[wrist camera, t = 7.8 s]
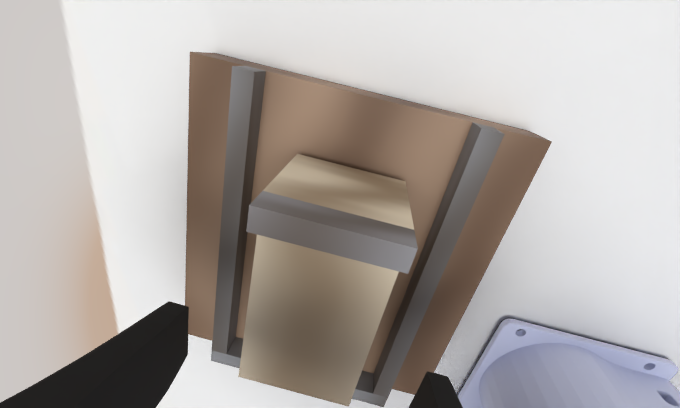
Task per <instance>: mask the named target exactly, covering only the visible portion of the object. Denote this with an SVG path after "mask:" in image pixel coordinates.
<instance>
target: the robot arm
mask: <svg viewBox="0 0 680 408" xmlns="http://www.w3.org/2000/svg"><path fill="white" fill-rule="evenodd" d="M188 319H189V307H188V306H184V305H180V304H177V303H173V302H167V303H166V304H164V305H162V306H161V307H159V308H158V309H156V310H155V311H153V312H152V313H150V314H149V315H147V316H146V317H144V318H143V319H141V320H139V321H138V322H136V323H135V324H133V325H132V326H130V327H129V328H127V329H126V330H124V331H122V332H121V333H119V334H118V335H116V336H115V337H113V338H111V339H110V340H108V341H107V342H105V343H103V344H102V345H100V346H99V347H97V348H95V349H94V350H92V351H91V352H89V353H87V354H86V355H84V356H83V357H81V358H79V359H78V360H76V361H74V362H72V363H71V364H69V365H67V366H65V367H64V368H62V369H60V370H58V371H57V372H55V373H54V374H52V375H50V376H48V377H47V378H45V379H43V380H41V381H39V382H38V383H36V384H34V385H32V386H31V387H29V388H27V389H25V390H23V391H21V392H20V393H18V394H16V395H14V396H12V397H10V398H8V399H6V400H4V401H3V402H1V403H0V408H156V407H157V405H158V404H159V402H160V401H161V399H162V398H163V396H164V395H165V394H166V392H167V391H168V389H169V387H170V385H171V384H172V382H173V380H174V378H175V377H176V375H177V373H178V371H179V369H180V368H181V366H182V364H183V362H184V360H185V358H186V357H187V355H188ZM519 329H522V330H520V331H517V330H519ZM677 372H678V367H677V366H676V365H675V364H674V363H673V362H672V361H671V360H669V359H665V358H661V357H657V356H653V355H650V354H646V353H642V352H638V351H634V350H630V349H627V348H623V347H619V346H615V345H611V344H607V343H604V342H600V341H596V340H592V339H588V338H584V337H581V336H577V335H573V334H569V333H565V332H561V331H558V330H554V329H550V328H546V327H542V326H538V325H535V324H531V323H527V322H523V321H519V320H515V319H505V320H504V321H502V322H501V323H500V325H499V327H498V328H497V330H496V332H495V334H494V335H493V337H492V339H491V340H490V342H489V344H488V345H487V347H486V349H485V351H484V352H483V354H482V356H481V357H480V359H479V361H478V362H477V364H476V366H475V368H474V369H473V371H472V373H471V374H470V376H469V378H468V379H467V381H466V383H465V385H464V386H463V388H462V390H461V391H460V393H459V395H458V396H457V394H456V392H455V390H454V388H453V386H452V384H451V382H450V380H449V378H448V377H447V376H443V375H439V374H436V373H432V372H428V371H427V372H426V374H425V376H424V378H423V380H422V382H421V384H420V386H419V388H418V390H417V392H416V394H415V396H414V398H413V400H412V402H411V404H410V406H409V408H680V392H679V391H678V390H677V389H676V388H675V386H674V385H673V384H672V383H671V382H670V381H669V380H670V379H671V378H672V377H673V376H674V375H675V374H676V373H677Z"/></svg>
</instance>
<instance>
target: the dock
mask: <svg viewBox="0 0 680 408" xmlns="http://www.w3.org/2000/svg"><path fill="white" fill-rule="evenodd" d="M550 144H551V141H549V140H547V139H545V138H543V137H541V136H539V135H536V134H534V133H532V132H530V131H527V130H523V129H519V128H515V127H511V126H506V125H502V124H498V123H494V122H490V121H486V120H482V119H478V118H474V117H470V116H466V115H462V114H458V113H454V112H450V111H446V110H442V109H438V108H434V107H430V106H426V105H422V104H418V103H414V102H410V101H406V100H402V99H398V98H394V97H390V96H386V95H382V94H377V93H373V92H369V91H365V90H361V89H357V88H353V87H349V86H345V85H341V84H337V83H333V82H329V81H325V80H321V79H317V78H313V77H309V76H305V75H301V74H297V73H293V72H289V71H285V70H281V69H277V68H273V67H269V66H265V65H261V64H257V63H252V62H248V61H244V60H240V59H236V58H232V57H228V56H224V55H220V54H216V53H201V52H190V76H189V129H188V181H187V233H186V286H185V306H188V307H189V319H188V334H190V335H193V336H197V337H201V338H205V339H208V340H212V355H211V361H215V362H218V363H222V364H226V365H229V366H233V367H237V368H240V361H241V353H242V346H243V338H244V330H245V323H246V315H247V307H248V300H249V292H250V284H251V277H252V269H253V261H254V254H255V246H256V238H257V234H253V233H249V232H246V229H247V221H248V212H249V205H250V204H251V203H252V202H253V201H254V199H255V198H256V197H257V196H258V195H259V194H260V193H261V192H262V191H263V190H264V189H265V188H266V187H267V186H268V185H269V183H270V182H271V181H272V180H273V179H274V178H275V177H276V176H277V175H278V174H279V173H280V172H281V171H282V170H283V168H284V167H285V166H286V165H287V164H288V163H289V162H290V161H291V160H292V159H293V158H294V157H295V156H296V155H297V154H300V155H304V156H308V157H312V158H316V159H320V160H324V161H327V162H331V163H335V164H339V165H343V166H347V167H351V168H355V169H359V170H363V171H367V172H371V173H375V174H378V175H382V176H386V177H390V178H394V179H398V180H402V181H406V187H407V192H408V198H409V203H410V209H411V214H412V219H413V225H414V230H415V236H416V241H417V247H418V250H417V252H416V255H415V257H414V260H413V263H412V265H411V268H410V270H409V273H408V274H406V273H403V272H399V273H398V275H397V278H396V281H395V283H394V286H393V289H392V291H391V294H390V297H389V299H388V302H387V305H386V308H385V310H384V313H383V316H382V318H381V321H380V324H379V326H378V329H377V332H376V334H375V337H374V340H373V343H372V345H371V348H370V351H369V353H368V356H367V359H366V361H365V364H364V367H363V369H362V372H361V375H360V377H359V380H358V383H357V386H356V388H355V391H354V394H353V396H352V399H356V400H359V401H363V402H367V403H370V404H374V405H378V406H382V407H384V405H385V403H386V400H387V398H388V396H389V394H390V391H391V389H395V390H399V391H402V392H406V393H410V394H414V395H415V394H416V392H417V390H418V388H419V386H420V384H421V382H422V380H423V378H424V376H425V374H426V372H427V371H428V372H432V373H434V371H435V369H436V367H437V365H438V363H439V361H440V359H441V357H442V355H443V353H444V351H445V349H446V347H447V345H448V343H449V341H450V339H451V338H452V336H453V334H454V332H455V330H456V328H457V326H458V324H459V322H460V320H461V318H462V316H463V314H464V312H465V310H466V308H467V306H468V304H469V302H470V300H471V298H472V297H473V295H474V293H475V291H476V289H477V287H478V285H479V283H480V281H481V279H482V277H483V275H484V273H485V271H486V269H487V267H488V265H489V263H490V261H491V259H492V258H493V256H494V254H495V252H496V250H497V248H498V246H499V244H500V242H501V240H502V238H503V236H504V234H505V232H506V230H507V228H508V226H509V224H510V222H511V220H512V218H513V217H514V215H515V213H516V211H517V209H518V207H519V205H520V203H521V201H522V199H523V197H524V195H525V193H526V191H527V189H528V187H529V185H530V183H531V181H532V179H533V177H534V176H535V174H536V172H537V170H538V168H539V166H540V164H541V162H542V160H543V158H544V156H545V154H546V152H547V150H548V148H549V146H550Z"/></svg>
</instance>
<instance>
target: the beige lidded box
mask: <svg viewBox="0 0 680 408" xmlns="http://www.w3.org/2000/svg"><path fill="white" fill-rule="evenodd" d="M246 232H249V233H253V234H257V238H256V246H255V254H254V261H253V269H252V277H251V284H250V292H249V300H248V307H247V315H246V323H245V330H244V338H243V346H242V353H241V361H240V369H239V376H238V377H242V378H246V379H249V380H253V381H257V382H260V383H264V384H268V385H271V386H275V387H279V388H283V389H286V390H290V391H294V392H297V393H301V394H305V395H308V396H312V397H316V398H319V399H323V400H327V401H330V402H334V403H338V404H342V405H345V406H349V404H350V402H351V399H352V396H353V394H354V391H355V388H356V386H357V383H358V380H359V377H360V375H361V372H362V369H363V367H364V364H365V361H366V359H367V356H368V353H369V351H370V348H371V345H372V343H373V340H374V337H375V334H376V332H377V329H378V326H379V324H380V321H381V318H382V316H383V313H384V310H385V308H386V305H387V302H388V299H389V297H390V294H391V291H392V289H393V286H394V283H395V281H396V278H397V275H398V273H399V272H403V273H406V274H408V273H409V270H410V268H411V265H412V263H413V260H414V257H415V255H416V252H417V250H418V247H417V241H416V236H415V230H414V225H413V219H412V214H411V209H410V203H409V198H408V192H407V187H406V181H402V180H398V179H394V178H390V177H386V176H382V175H378V174H375V173H371V172H367V171H363V170H359V169H355V168H351V167H347V166H343V165H339V164H335V163H331V162H327V161H324V160H320V159H316V158H312V157H308V156H304V155H300V154H297V155H296V156H295V157H294V158H293V159H292V160H291V161H290V162H289V163H288V164H287V165H286V166H285V167H284V168H283V170H282V171H281V172H280V173H279V174H278V175H277V176H276V177H275V178H274V179H273V180H272V181H271V182H270V183H269V185H268V186H267V187H266V188H265V189H264V190H263V191H262V192H261V193H260V194H259V195H258V196H257V197H256V198H255V199H254V201H253V202H252V203H251V204H250V205H249V212H248V221H247V229H246Z"/></svg>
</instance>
